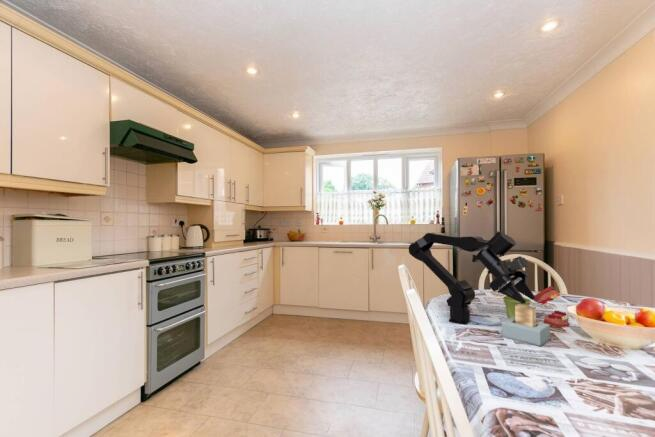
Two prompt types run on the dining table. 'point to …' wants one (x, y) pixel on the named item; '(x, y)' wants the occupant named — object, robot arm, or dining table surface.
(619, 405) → the dining table surface
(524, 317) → the upright wooden block
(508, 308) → the plant pot
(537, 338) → the block
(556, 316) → the anatomical model
